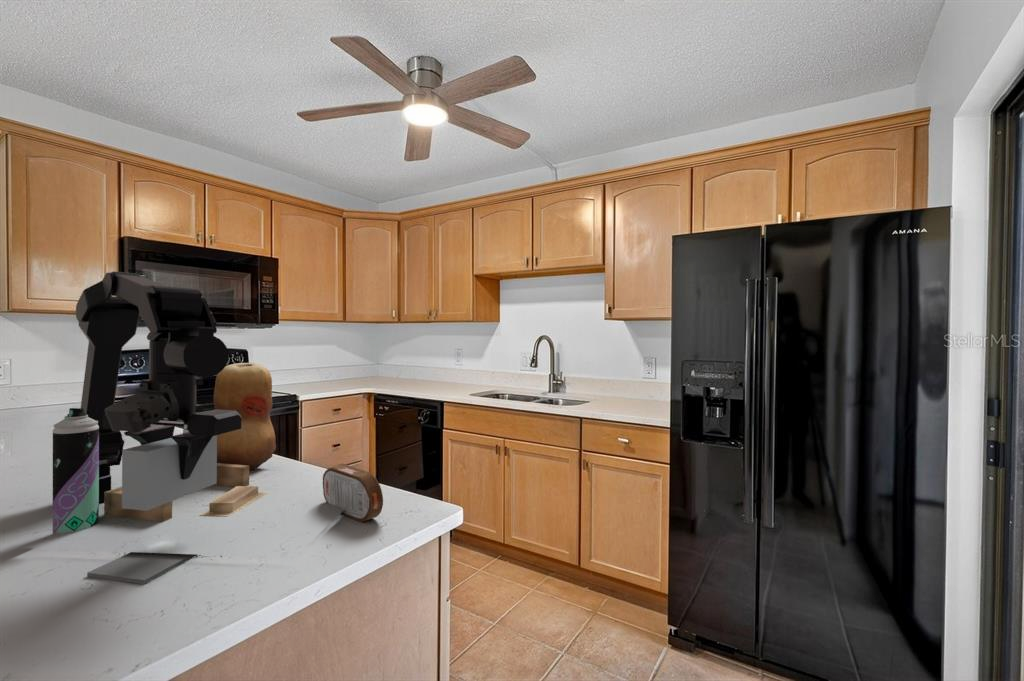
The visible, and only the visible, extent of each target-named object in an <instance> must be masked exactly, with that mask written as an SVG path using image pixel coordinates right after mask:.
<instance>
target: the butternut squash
mask: <svg viewBox="0 0 1024 681" xmlns="http://www.w3.org/2000/svg"><path fill="white" fill-rule="evenodd" d="M271 374H272V373H270V370H269V369H268V368H267V367H266V366H264V365H262V364H260V363H255V362H238V363H232V364H227V365H226V366H225V368H224V369H223V370H222V371H221V372H220V373H218V374H216V378H215V384H214V390H213V405H214V410H216V409H219V410H235V411H237V412H238V413H239V414H240V415H241V429H238V430H234V431H231V432H227V433H223V434H219V435H217V463H222V464H235V465H247V466H249V471H254V470H255V469H257V468H259V467H260V466H262V465H263V464H264V463H266V462H267V461H269V460H270V459H271V458H272V457H273V454H274V452H275V451H276V450H277V445H276V434H275V433H276V432H275V429H274V426H273V423H272V421H271V415H270V414H271V410H272V409H273V392H272V391H273V379H272V376H271Z"/></svg>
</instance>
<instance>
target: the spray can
mask: <svg viewBox="0 0 1024 681" xmlns="http://www.w3.org/2000/svg"><path fill="white" fill-rule="evenodd" d="M97 424H98V421H97V420H93V419H91V418H89V417H88V415H86V413H84V408H81V407H79V408H78V407H70V408H69V411H68V413H67V415H64V417H63V419H61V420H60V421H59V422H57V423H54V424H53V429H52V535H54V534H64V533H65V534H66V533H67V534H68V533H75V532H79V531H84V530H87V529H91V528H92V527H94V526H97V525H98V524H99V522H100V520H99V517H100V515H99V514H100V511H99V510H100V508H99V507H100V504H99V503H100V502H99V426H98V425H97Z"/></svg>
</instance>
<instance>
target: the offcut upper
mask: <svg viewBox="0 0 1024 681" xmlns="http://www.w3.org/2000/svg"><path fill="white" fill-rule="evenodd" d="M258 492H259V486H255V485H254V486H253V485H251V486H250V485H248V486H236V487H233V488H231V489H230V490H228V491H227V492H225V493H223V494H221V495H219V496H218V497H217V498H215V499H213V500H212V501H210V502H209V504H208V506H209V507H208V508H209V509H208V510H209V512H234V511H235V510H237V509H238V508H240V507H241V506H243V505H244V504H245V503H247V502H248V501H250V500H251V499H253V498H254V497H255V496H257V495H258Z"/></svg>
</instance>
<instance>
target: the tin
mask: <svg viewBox="0 0 1024 681" xmlns="http://www.w3.org/2000/svg"><path fill="white" fill-rule="evenodd" d="M322 489H323V490H322V493H323V497H324V500H325V502H326V503H327V504H329V505H332V506H335V507H337V508H339V509H342V511H341V512H340V514H341V515H342V516H346V517H348V518H350V519H352V520H355V521H357V522H360V523H363V522H366V521H369V520H372V519H375V518H377V517H378V516H379V515H380V514H381V512H382V509H383V507H384V497H383V496H384V495H383V490H382V487H381V485H380V483H379V481H378V479H377V477H375V475H374V474H372V473H371V472H369V471H366V470H363V469H360V468H358V467H354V466H351V465H348V464H346V463H339V464H337V465H333V466H331V467H329V468H327V469H326V470H325V471H324V473H323V475H322Z"/></svg>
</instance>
